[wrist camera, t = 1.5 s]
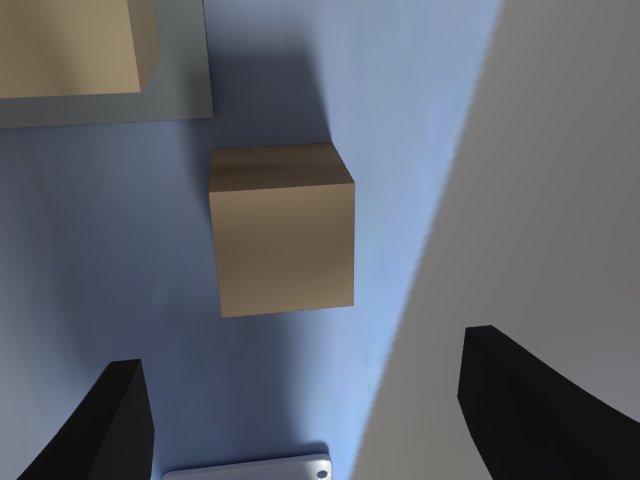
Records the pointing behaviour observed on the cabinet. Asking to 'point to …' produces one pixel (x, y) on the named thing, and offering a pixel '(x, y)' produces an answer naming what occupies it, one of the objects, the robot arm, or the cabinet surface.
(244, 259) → the walnut block
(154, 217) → the cabinet surface
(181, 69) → the tower base
